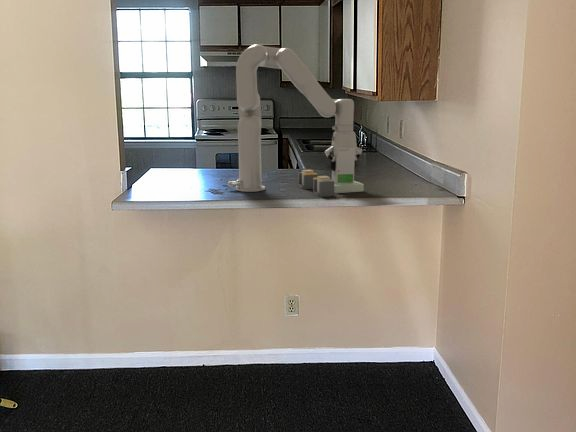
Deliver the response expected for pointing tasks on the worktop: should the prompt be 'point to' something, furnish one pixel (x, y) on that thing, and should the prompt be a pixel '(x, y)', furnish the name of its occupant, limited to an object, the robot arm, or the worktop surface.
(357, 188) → the tray
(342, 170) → the skincare box
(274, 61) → the robot arm
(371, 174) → the worktop surface
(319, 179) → the cartridges
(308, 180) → the rail
